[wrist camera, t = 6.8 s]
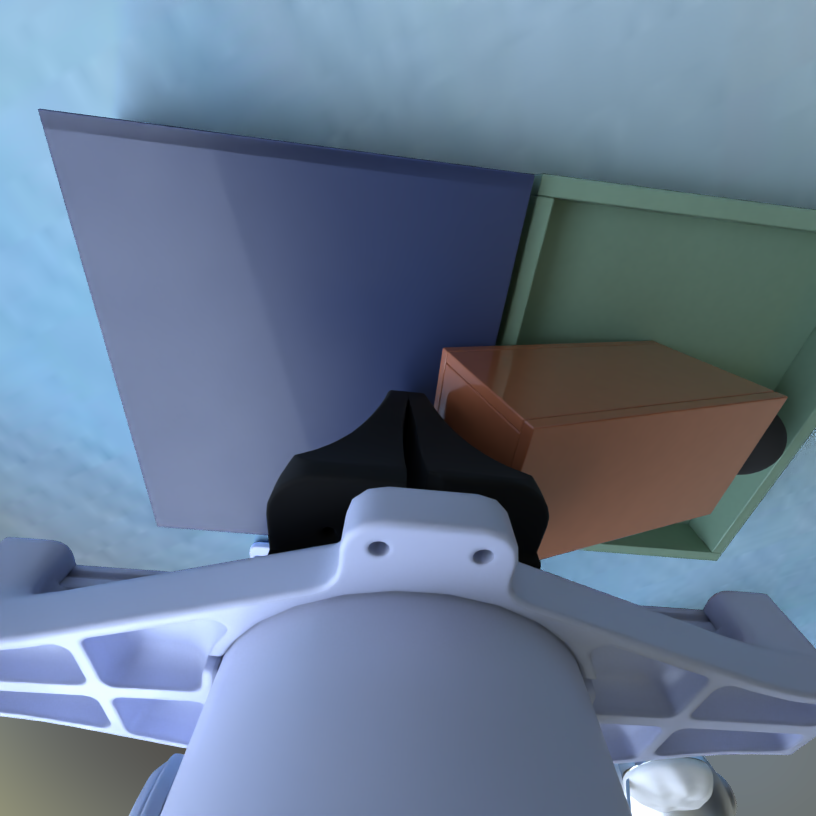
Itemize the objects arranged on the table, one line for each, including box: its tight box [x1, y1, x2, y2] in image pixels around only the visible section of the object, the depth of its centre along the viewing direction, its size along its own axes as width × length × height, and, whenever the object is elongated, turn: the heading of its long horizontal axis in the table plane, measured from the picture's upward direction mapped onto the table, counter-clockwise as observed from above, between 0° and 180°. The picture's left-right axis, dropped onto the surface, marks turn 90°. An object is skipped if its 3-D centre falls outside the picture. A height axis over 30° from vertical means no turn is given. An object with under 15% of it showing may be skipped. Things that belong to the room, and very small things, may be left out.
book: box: [38, 109, 535, 535], centre depth 16 cm, size 16×14×3 cm
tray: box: [495, 174, 816, 561], centre depth 17 cm, size 16×14×2 cm
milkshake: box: [618, 756, 713, 813], centre depth 24 cm, size 5×5×10 cm
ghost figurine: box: [614, 756, 737, 816], centre depth 31 cm, size 9×10×10 cm
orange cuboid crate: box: [434, 341, 788, 560], centre depth 14 cm, size 10×5×5 cm, turn 84°
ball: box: [737, 415, 787, 475], centre depth 17 cm, size 3×3×3 cm
